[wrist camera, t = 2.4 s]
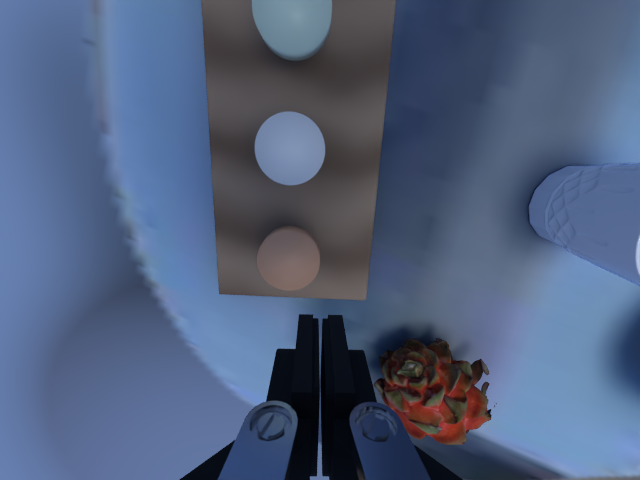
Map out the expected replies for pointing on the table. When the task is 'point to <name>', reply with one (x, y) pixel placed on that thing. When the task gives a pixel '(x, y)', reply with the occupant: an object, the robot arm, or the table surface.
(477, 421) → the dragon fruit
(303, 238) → the terracotta button
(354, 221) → the button panel
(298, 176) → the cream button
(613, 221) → the white cup
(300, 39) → the sage button
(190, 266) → the table surface
